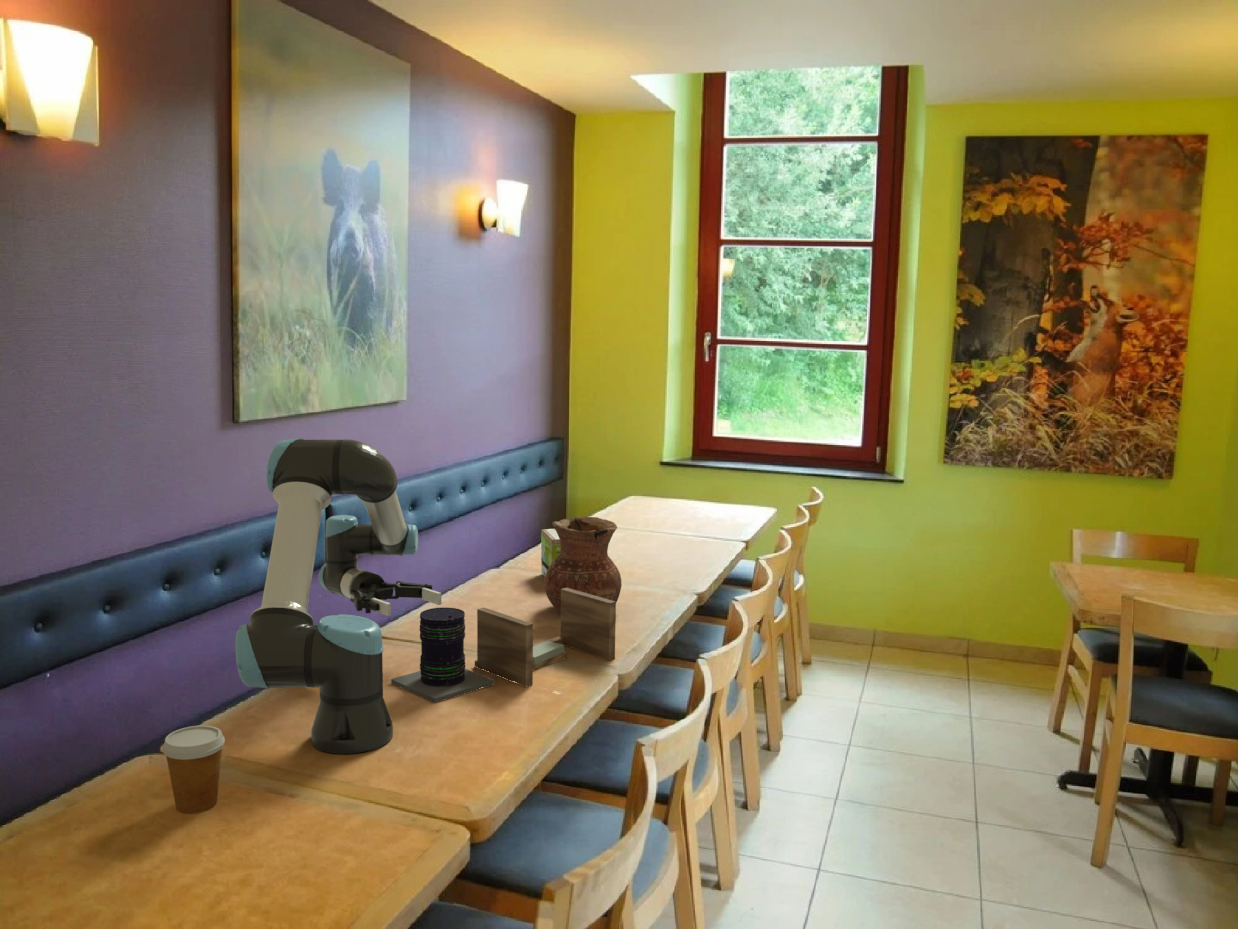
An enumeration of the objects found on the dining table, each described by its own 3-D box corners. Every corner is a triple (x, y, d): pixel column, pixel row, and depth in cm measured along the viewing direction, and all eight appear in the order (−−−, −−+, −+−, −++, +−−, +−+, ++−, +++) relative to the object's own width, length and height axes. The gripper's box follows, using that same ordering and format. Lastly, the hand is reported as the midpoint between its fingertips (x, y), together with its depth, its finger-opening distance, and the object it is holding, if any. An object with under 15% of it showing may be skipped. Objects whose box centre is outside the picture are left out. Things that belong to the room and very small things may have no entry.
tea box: (540, 574, 325) (540, 528, 323) (571, 572, 328) (571, 526, 326) (551, 586, 311) (551, 538, 309) (583, 584, 314) (584, 536, 312)
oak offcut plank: (531, 673, 238) (531, 665, 238) (512, 667, 242) (513, 659, 242) (566, 660, 247) (566, 653, 247) (548, 654, 251) (548, 647, 251)
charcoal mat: (434, 703, 217) (434, 698, 217) (391, 683, 228) (391, 679, 228) (494, 684, 229) (494, 680, 228) (450, 666, 239) (450, 662, 239)
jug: (632, 618, 280) (634, 527, 276) (558, 625, 272) (559, 532, 269) (603, 597, 300) (605, 512, 297) (534, 603, 293) (534, 516, 289)
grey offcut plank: (534, 665, 239) (534, 657, 238) (517, 660, 242) (517, 653, 241) (564, 652, 247) (564, 645, 247) (547, 648, 250) (547, 640, 250)
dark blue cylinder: (411, 678, 228) (410, 613, 226) (448, 668, 235) (447, 604, 233) (437, 690, 221) (436, 623, 219) (474, 680, 228) (474, 614, 226)
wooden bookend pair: (525, 687, 227) (526, 625, 225) (474, 667, 240) (474, 608, 238) (614, 658, 247) (615, 601, 245) (563, 641, 260) (564, 586, 258)
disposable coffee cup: (205, 822, 165) (202, 750, 164) (152, 815, 167) (149, 744, 166) (238, 795, 175) (236, 727, 173) (188, 789, 177) (185, 722, 175)
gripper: (407, 593, 257) (460, 610, 243) (316, 611, 240) (367, 631, 225) (407, 563, 256) (459, 579, 242) (316, 580, 239) (366, 597, 224)
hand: (415, 604), depth 233 cm, fingers open, 13 cm apart
